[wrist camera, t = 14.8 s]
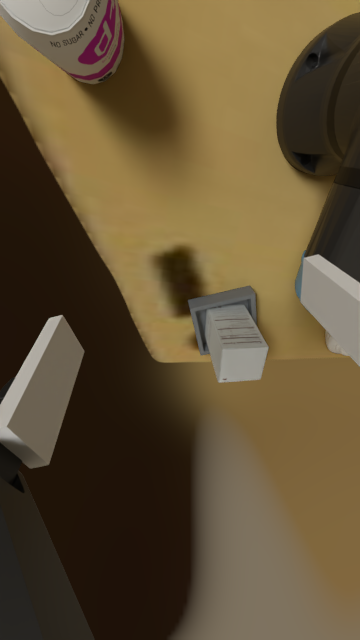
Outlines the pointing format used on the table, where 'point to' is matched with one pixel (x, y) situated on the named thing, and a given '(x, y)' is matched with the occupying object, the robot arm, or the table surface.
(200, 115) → the table surface
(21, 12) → the supplement can
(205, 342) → the charcoal tray
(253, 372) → the supplement box
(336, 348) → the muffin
